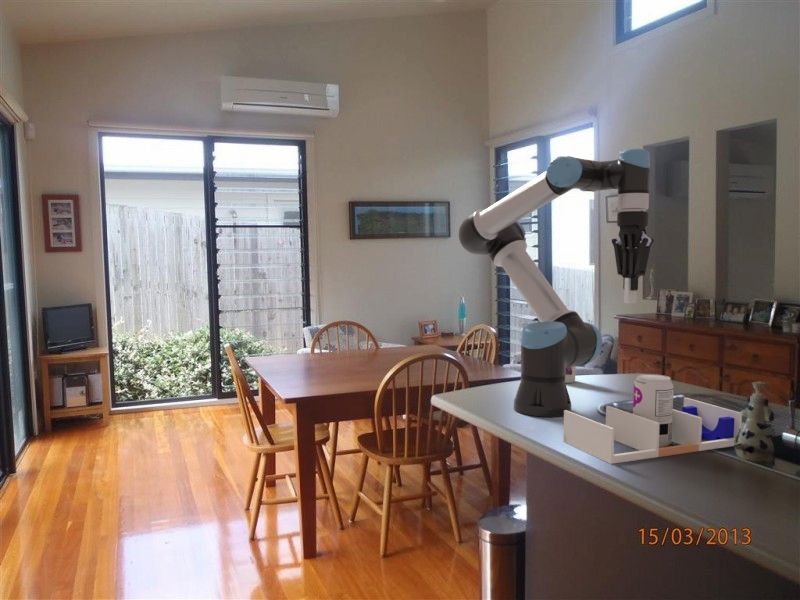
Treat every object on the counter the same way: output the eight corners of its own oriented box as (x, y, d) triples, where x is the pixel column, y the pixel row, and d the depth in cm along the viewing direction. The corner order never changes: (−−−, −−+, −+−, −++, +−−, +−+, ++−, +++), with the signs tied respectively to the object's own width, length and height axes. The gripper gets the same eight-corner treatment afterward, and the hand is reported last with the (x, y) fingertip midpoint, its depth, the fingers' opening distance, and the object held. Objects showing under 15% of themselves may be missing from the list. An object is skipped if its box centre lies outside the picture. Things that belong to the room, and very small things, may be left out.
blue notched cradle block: (676, 432, 152) (677, 407, 152) (690, 430, 154) (691, 405, 153) (718, 446, 141) (719, 420, 140) (733, 444, 143) (734, 418, 142)
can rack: (610, 463, 129) (611, 428, 128) (563, 441, 144) (564, 410, 143) (740, 444, 141) (742, 413, 141) (684, 426, 156) (685, 397, 156)
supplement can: (633, 447, 140) (635, 379, 139) (631, 436, 148) (632, 372, 147) (673, 450, 137) (675, 381, 136) (668, 439, 145) (671, 374, 144)
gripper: (663, 210, 158) (660, 304, 160) (627, 212, 171) (624, 300, 172) (639, 209, 156) (636, 305, 158) (604, 212, 168) (601, 301, 170)
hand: (630, 302), depth 165 cm, fingers closed
